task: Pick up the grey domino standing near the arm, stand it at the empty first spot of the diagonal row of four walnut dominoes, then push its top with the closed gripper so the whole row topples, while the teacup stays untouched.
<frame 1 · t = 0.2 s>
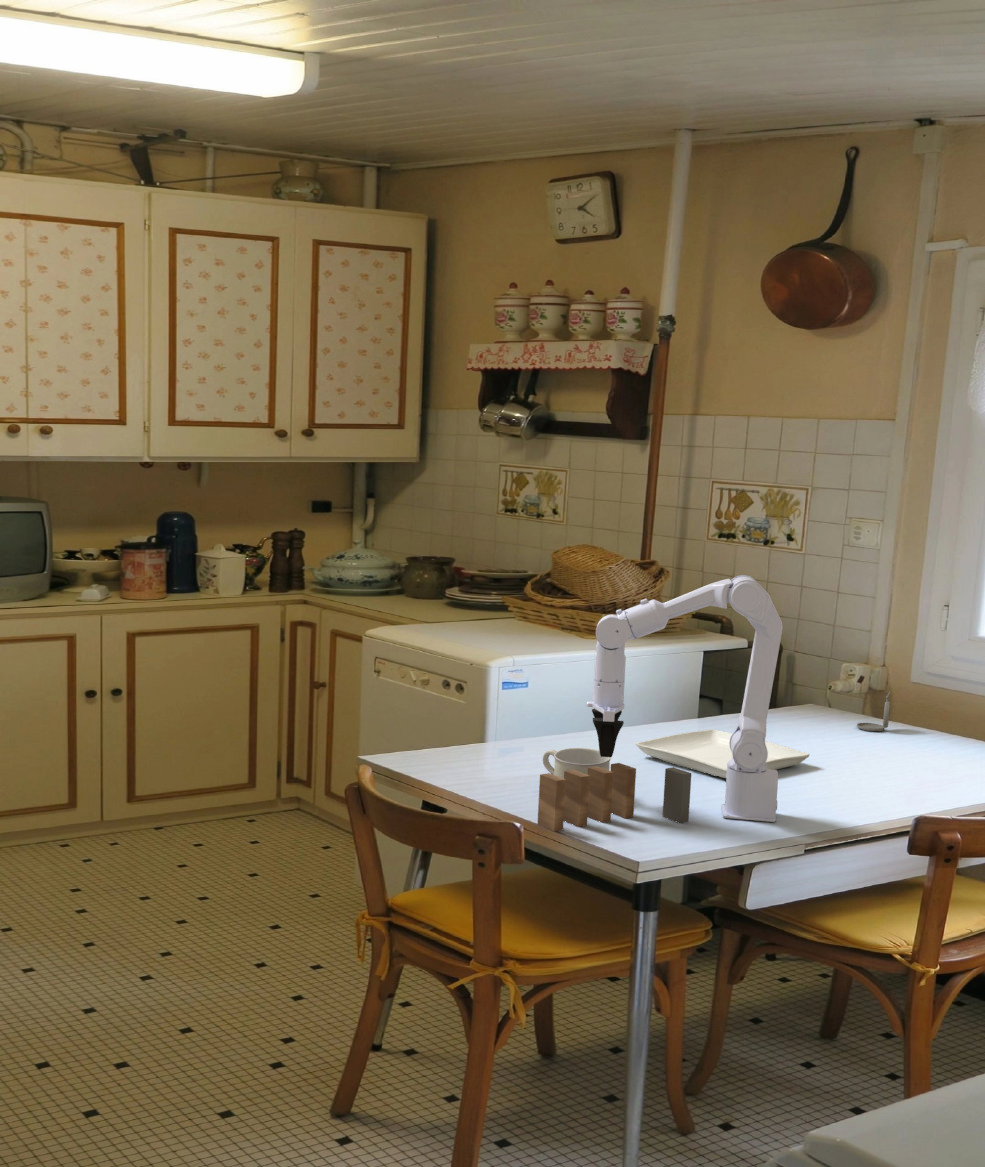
hand: (605, 751, 236), 10 cm above the table, tool pointing down, fingers open, 7 cm apart
teacup: (573, 794, 244), on the table
domino 5: (550, 827, 221), on the table
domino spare: (675, 819, 229), on the table
domino 3: (597, 818, 228), on the table
domino 4: (574, 823, 224), on the table
domino 2: (620, 814, 231), on the table
pocket watch: (875, 731, 315), on the table
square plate: (721, 764, 274), on the table
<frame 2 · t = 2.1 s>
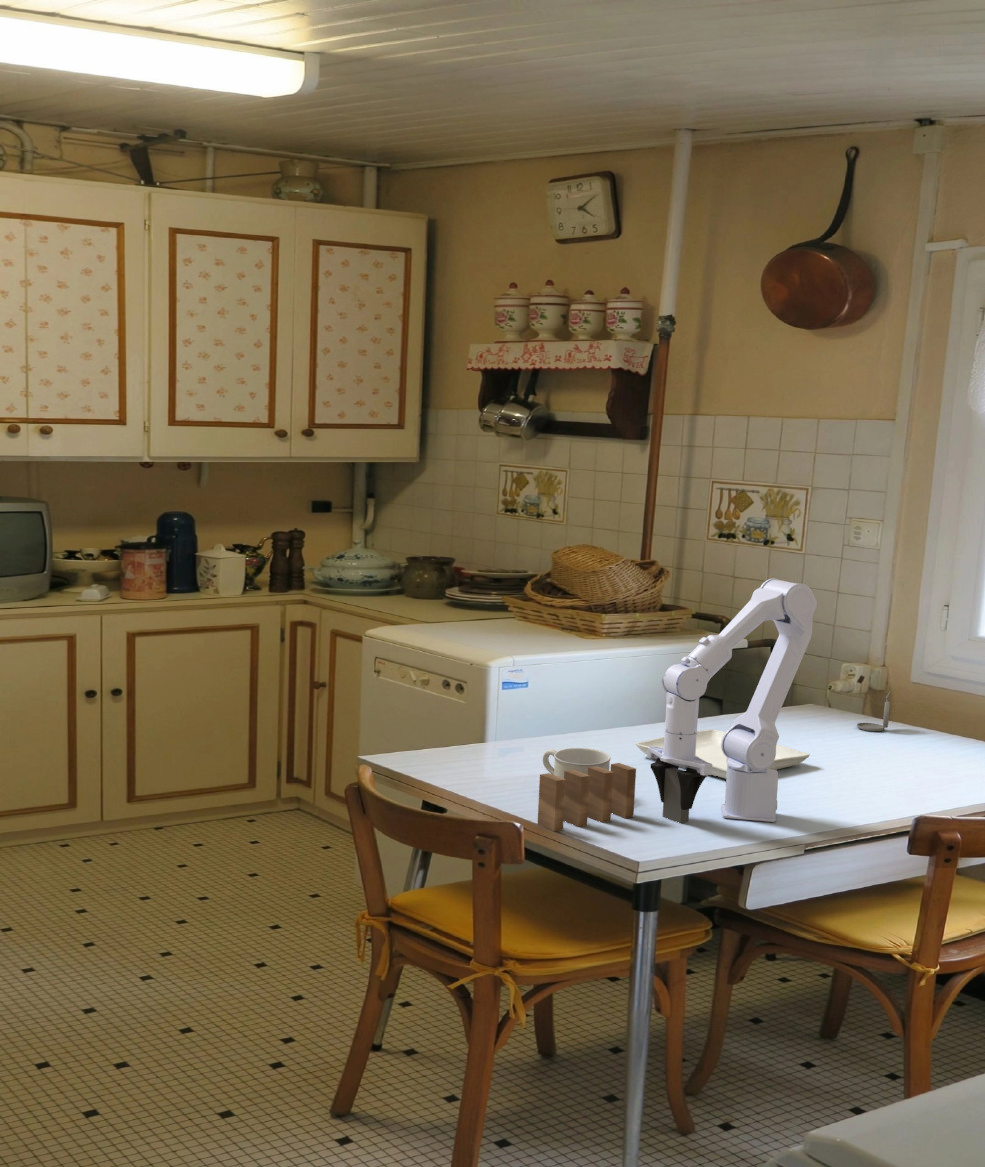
hand: (676, 805, 229), 3 cm above the table, tool pointing down, fingers closed on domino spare, 5 cm apart
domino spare: (675, 819, 229), on the table, touching gripper
everything else where it was.
when the fingers open (3 cm above the table, at t = 5.4 s): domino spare stays where it is, on the table.
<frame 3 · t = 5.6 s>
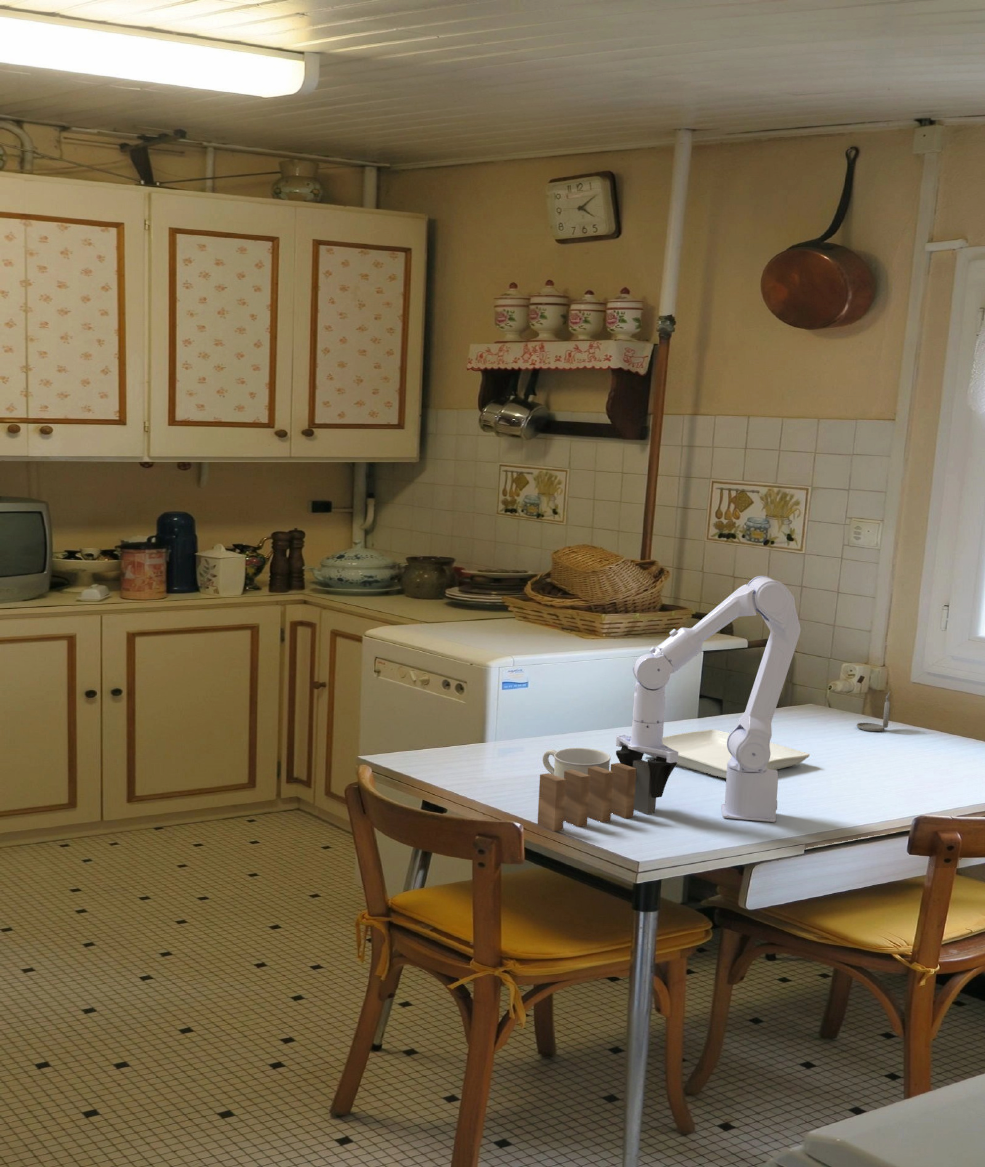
hand: (643, 792, 234), 3 cm above the table, tool pointing down, fingers open, 6 cm apart
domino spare: (642, 810, 234), on the table
everything else where it was.
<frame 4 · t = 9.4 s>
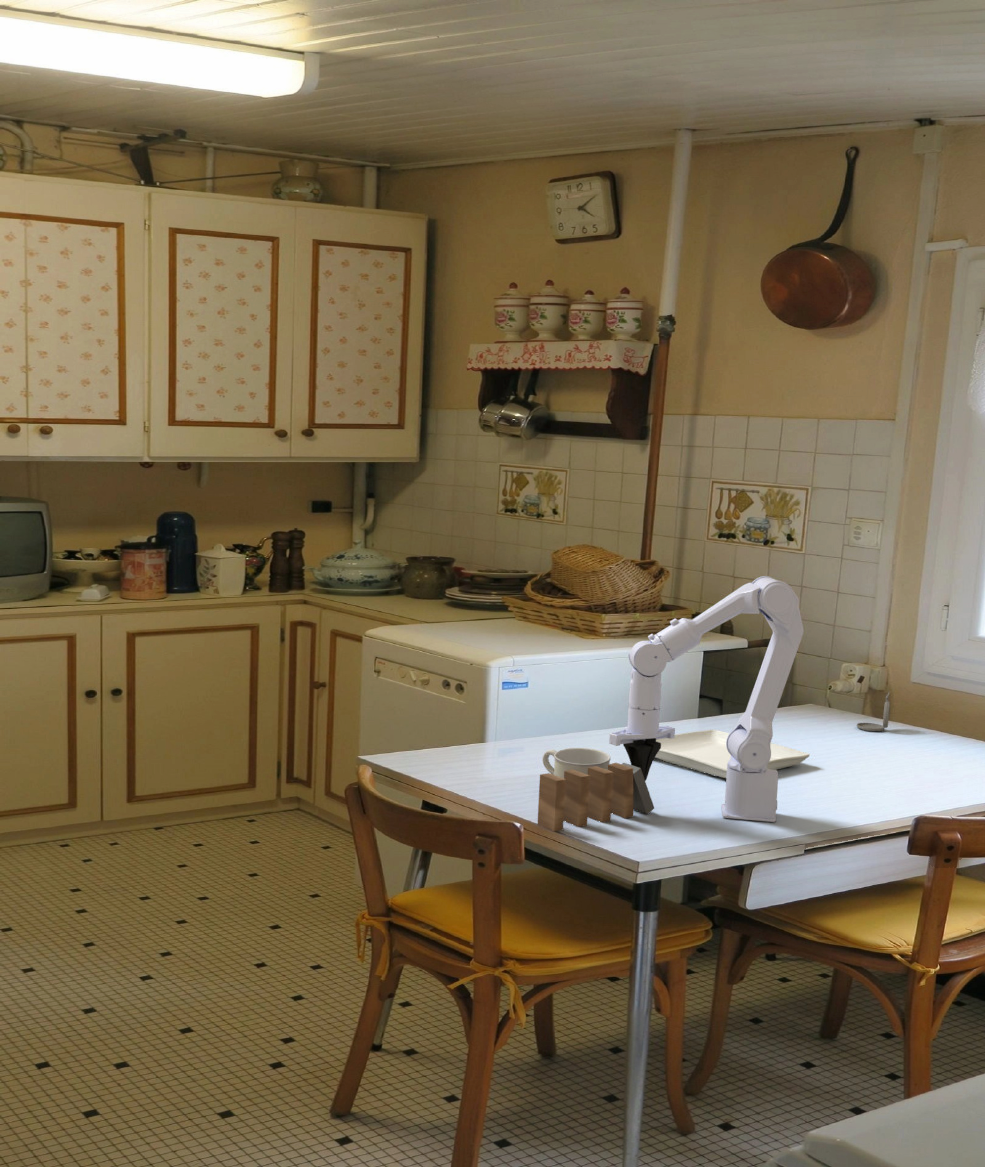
hand: (639, 779, 233), 6 cm above the table, tool pointing down, fingers closed
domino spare: (642, 808, 234), on the table, tilted 27°
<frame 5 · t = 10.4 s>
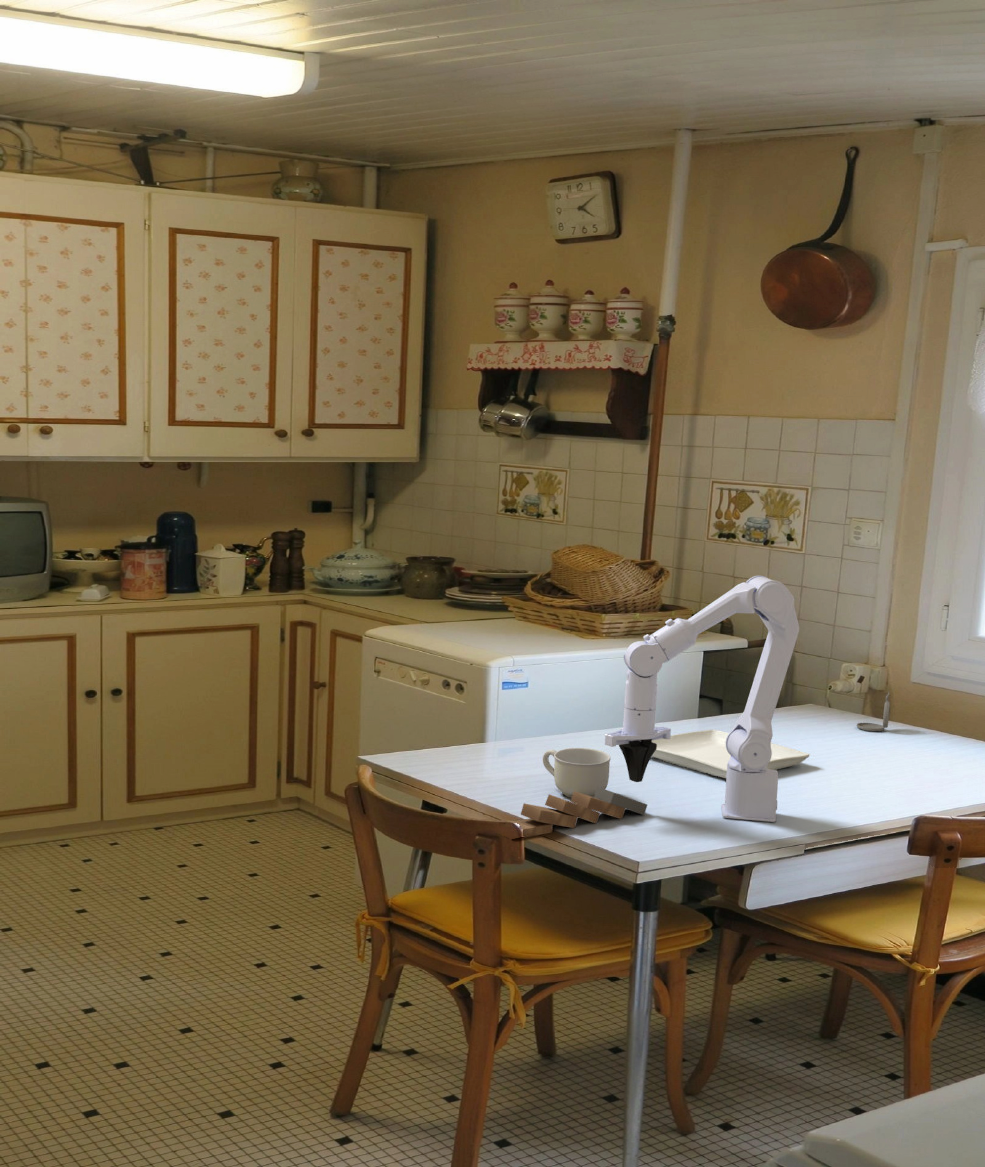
hand: (635, 780, 232), 6 cm above the table, tool pointing down, fingers closed
domino 5: (543, 826, 220), on the table, tilted 90°
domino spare: (637, 806, 233), point 1 cm above the table, tilted 69°, touching domino 2
domino 3: (589, 814, 227), point 1 cm above the table, tilted 68°, touching domino 2, domino 4
domino 4: (567, 819, 223), point 1 cm above the table, tilted 74°, touching domino 3
domino 2: (615, 810, 230), point 1 cm above the table, tilted 69°, touching domino 3, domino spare
everything else where it was.
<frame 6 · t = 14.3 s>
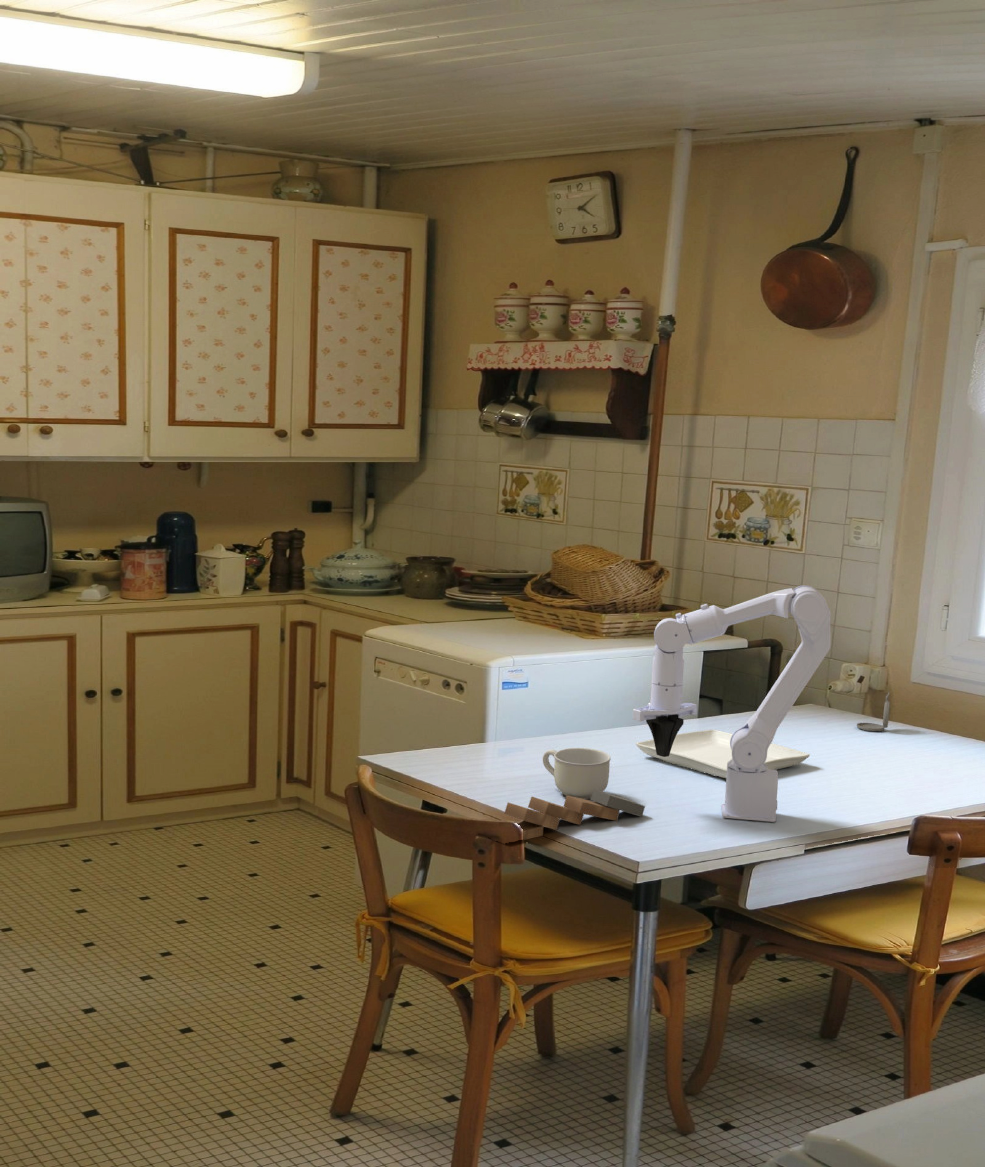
hand: (662, 755, 236), 10 cm above the table, tool pointing down, fingers closed
domino 5: (533, 828, 218), point 1 cm above the table, tilted 90°, touching domino 4
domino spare: (635, 808, 232), point 1 cm above the table, tilted 70°, touching domino 2
domino 3: (573, 816, 225), point 1 cm above the table, tilted 69°, touching domino 2, domino 4
domino 4: (548, 821, 220), point 1 cm above the table, tilted 69°, touching domino 3, domino 5
domino 2: (610, 812, 229), point 1 cm above the table, tilted 74°, touching domino 3, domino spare
everything else where it was.
at the end: domino 5 tilted 90°; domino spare tilted 70°; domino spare inside the target area (2.1 cm from its centre), point 0.9 cm above the table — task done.
